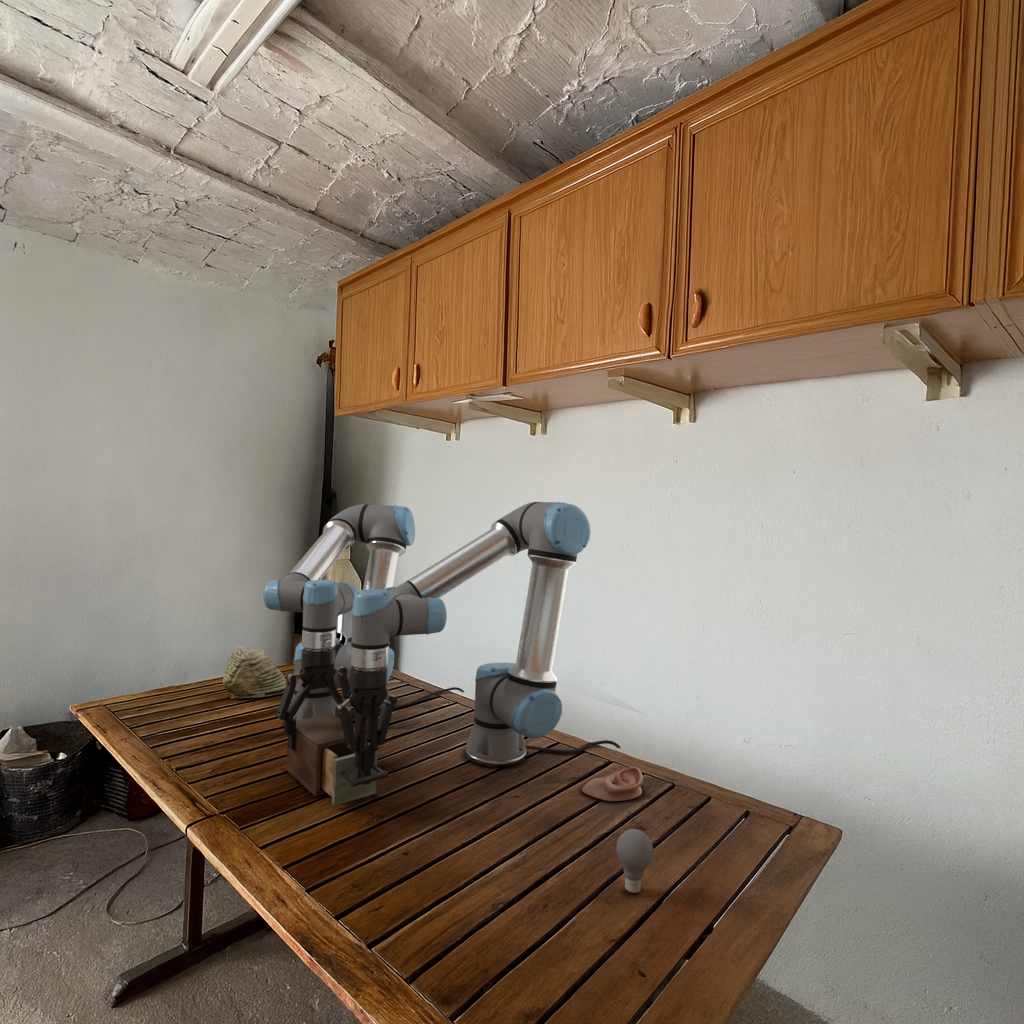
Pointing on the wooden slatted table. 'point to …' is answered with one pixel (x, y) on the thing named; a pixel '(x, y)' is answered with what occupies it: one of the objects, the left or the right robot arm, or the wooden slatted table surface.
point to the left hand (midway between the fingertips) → (315, 742)
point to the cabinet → (313, 749)
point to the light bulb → (634, 857)
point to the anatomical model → (616, 785)
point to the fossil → (252, 674)
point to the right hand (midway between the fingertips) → (363, 781)
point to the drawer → (346, 775)
